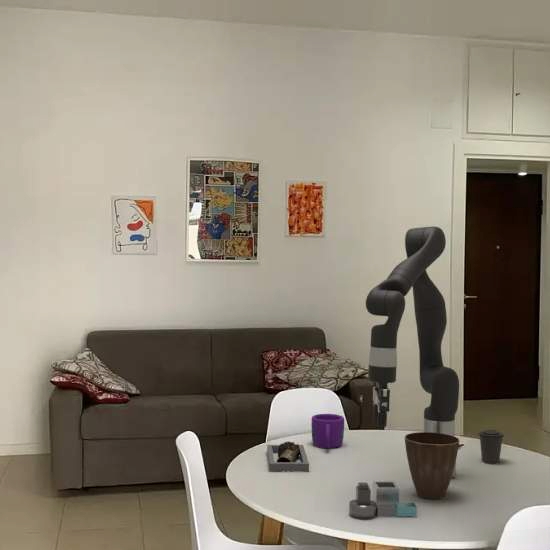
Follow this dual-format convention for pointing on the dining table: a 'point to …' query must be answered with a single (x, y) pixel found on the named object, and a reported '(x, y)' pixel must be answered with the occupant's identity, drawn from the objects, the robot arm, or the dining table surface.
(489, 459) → the coffee cup
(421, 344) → the robot arm
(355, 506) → the ratchet
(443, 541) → the dining table surface
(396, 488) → the square metal tube
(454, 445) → the plant pot
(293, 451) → the rough wooden branch
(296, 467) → the gray rectangular tray
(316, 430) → the mug
